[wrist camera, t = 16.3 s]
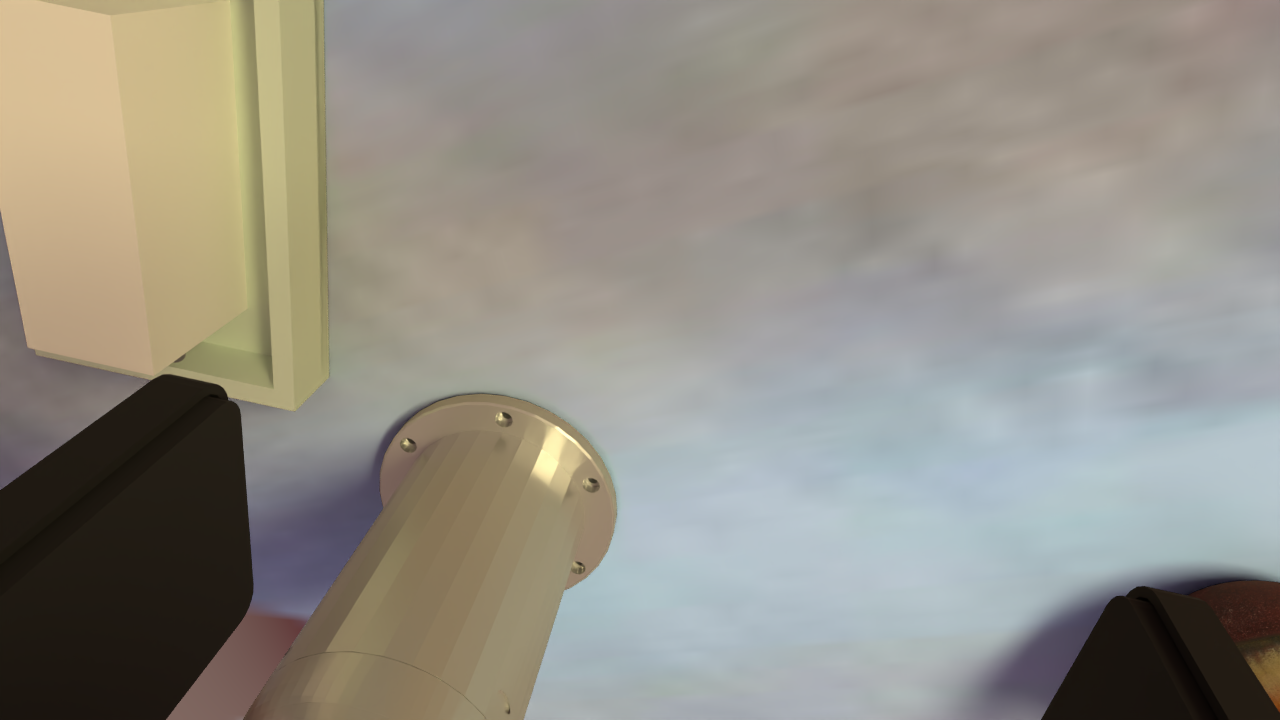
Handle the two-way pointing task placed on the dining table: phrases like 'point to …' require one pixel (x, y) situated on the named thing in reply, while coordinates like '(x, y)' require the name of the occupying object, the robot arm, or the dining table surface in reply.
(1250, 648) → the vase
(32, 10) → the tan cardboard box
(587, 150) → the dining table surface
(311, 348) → the tray
